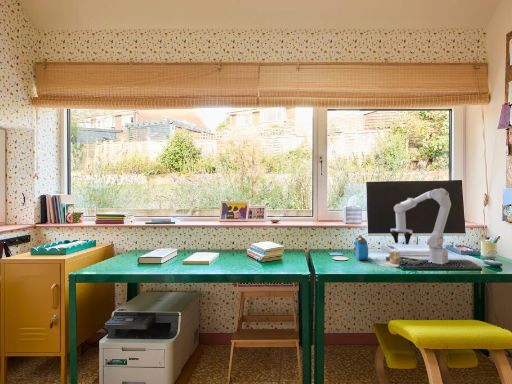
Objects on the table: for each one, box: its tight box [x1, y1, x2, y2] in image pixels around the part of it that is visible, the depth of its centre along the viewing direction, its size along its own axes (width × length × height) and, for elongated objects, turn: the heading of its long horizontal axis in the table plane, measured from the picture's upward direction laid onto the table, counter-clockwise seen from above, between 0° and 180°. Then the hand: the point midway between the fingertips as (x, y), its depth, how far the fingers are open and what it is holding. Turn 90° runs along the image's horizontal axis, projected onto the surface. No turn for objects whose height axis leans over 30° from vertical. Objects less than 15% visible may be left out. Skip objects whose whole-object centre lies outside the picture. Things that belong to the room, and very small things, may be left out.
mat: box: [383, 261, 400, 268], centre depth 212 cm, size 9×9×1 cm
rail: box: [385, 255, 424, 265], centre depth 217 cm, size 20×8×2 cm, turn 33°
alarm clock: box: [354, 235, 369, 261], centre depth 229 cm, size 13×6×15 cm, turn 176°
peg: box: [388, 250, 401, 265], centre depth 212 cm, size 4×4×7 cm
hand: (401, 243), depth 226 cm, fingers open, 7 cm apart
